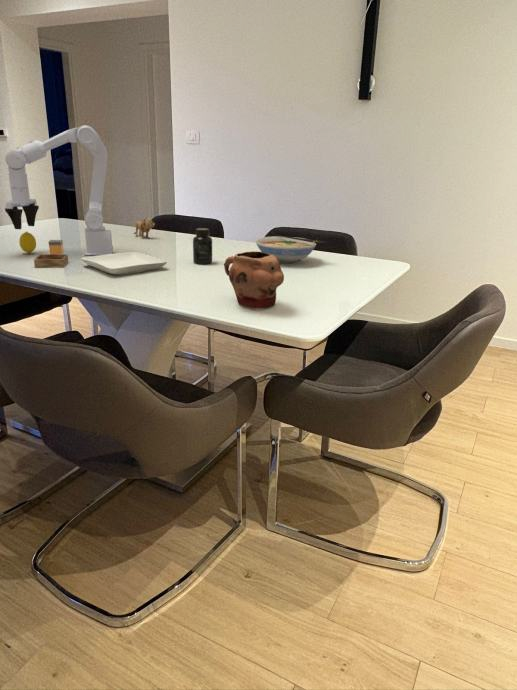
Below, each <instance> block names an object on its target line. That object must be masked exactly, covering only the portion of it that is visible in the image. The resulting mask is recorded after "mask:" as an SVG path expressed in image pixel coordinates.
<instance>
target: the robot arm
mask: <svg viewBox="0 0 517 690" xmlns="http://www.w3.org/2000/svg"><path fill="white" fill-rule="evenodd" d="M78 142H80V144H81V145H83V146H84V147H86V148H87V149H88V150H89V152H90V153H91V154H92V156H93V157H94V158H93V167H92V176H91V186H90V194H89V195H90V196H89V205H88V206H89V207H88V210H87V212H86V214H85V217H84V224H85V227H84V236H85V247H86V248H85V249H86V251H85V252H84V256H99V255H107V254H113V250H114V245H113V241H112V240H113V239H112V230H111V229H106V227H105V226H104V216H103V214H102V210H103V200H104V192H105V182H106V173H107V166H108V165H107V164H108V156H109V155H108V151H107V149H106V146H105V144H104V143H103V140H102V138H101V137H100V135H99V133H97V132H96V131H95V129H94V128H93V127H91V126H90V125H81V126H79V127H73V128H70V129H67V130H65V131H63V132H61V133H58V134H57V135H54V136H52V137H50V138H48V139H46V140H44V141H40V140H37V139H35V140H33V139H30V140H29V141H28V143H27V144H25V145H22V146H16V147H15V149H16V150H10V151H8V152H7V153H6V155H5V158H4V160H5V164H6V165H7V170H8V181H9V187H10V194H11V200H9V201H8V202H4V203H5V207H4V211H5V213H6V214H7V215H8V217H9V218H10V219H9V220H11V223H12V225H13V228H14V230H22V229H23V228H22V214H23V212H24V215H25V218H26V224H27V226H28V227H35V225H36V217H37V214H38V211H39V210H40V209H39V208H40V207H39V205H37V204H38V203H37V199H36V198H31V197H30V189H29V181H28V174H27V171H26V165H27V164H28V165H30V164H32V163H35V162H37V161H39V160H42V159H43V158H45V157H46V156H47V154H48V151H50V150H53V149H55V148H58V147H61V146H62V145H65V144H67V143H74V144H75V143H78ZM19 208H21V209H19Z"/></svg>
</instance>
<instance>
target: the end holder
mask: <svg viewBox="0 0 517 690" xmlns="http://www.w3.org/2000/svg"><path fill="white" fill-rule="evenodd" d="M68 255H69V254H67V253H66V254H65V253H64V254H50V253H45V254H43V253H40V254H37V256H36V257H35V258H34V259H33V263H34V268H66V267H65V266H67V265H68V263H69V256H68Z"/></svg>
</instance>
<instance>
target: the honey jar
mask: <svg viewBox="0 0 517 690" xmlns="http://www.w3.org/2000/svg"><path fill="white" fill-rule="evenodd" d="M48 248H49V250H48V251H49V254H65V252H64V243H63V239H50V240H49V241H48Z"/></svg>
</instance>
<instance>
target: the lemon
mask: <svg viewBox="0 0 517 690" xmlns="http://www.w3.org/2000/svg"><path fill="white" fill-rule="evenodd" d="M36 240H37V239H36V237H35V236H34V235H33V234H32V233H30V232H28V231H25V232H24V233H22V234H21V235H20V237H19V241H18V242H19V247H20V248H21V250H22V251H23V252H25V253H27V254H28V255H29V254H31V253H33V252H34V251H35V250H36V248H37V241H36Z"/></svg>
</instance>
